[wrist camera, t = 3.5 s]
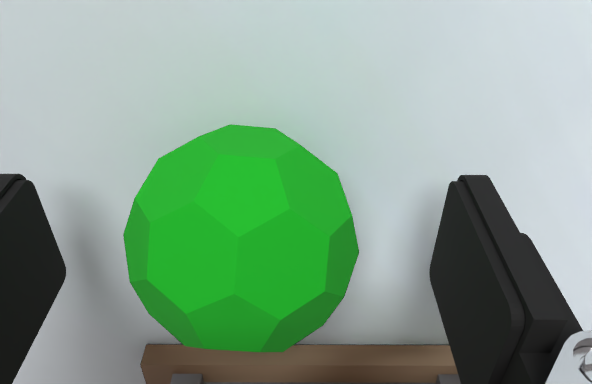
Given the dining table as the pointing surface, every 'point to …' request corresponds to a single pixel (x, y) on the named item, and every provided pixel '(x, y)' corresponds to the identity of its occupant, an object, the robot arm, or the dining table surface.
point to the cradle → (301, 365)
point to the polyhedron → (241, 241)
